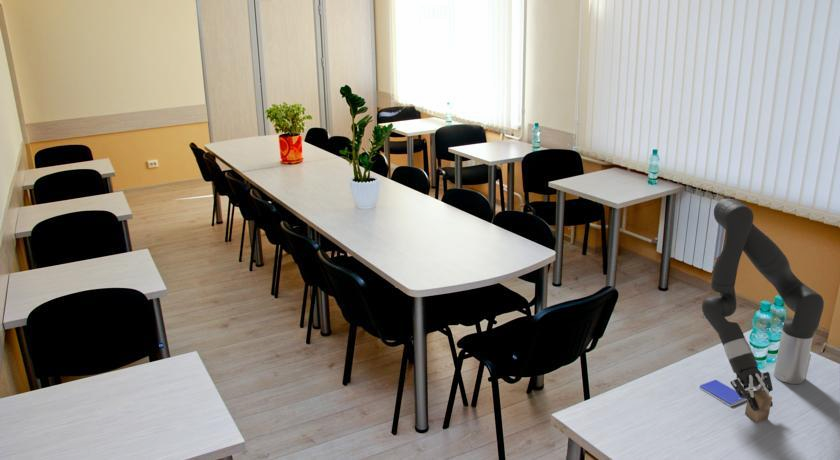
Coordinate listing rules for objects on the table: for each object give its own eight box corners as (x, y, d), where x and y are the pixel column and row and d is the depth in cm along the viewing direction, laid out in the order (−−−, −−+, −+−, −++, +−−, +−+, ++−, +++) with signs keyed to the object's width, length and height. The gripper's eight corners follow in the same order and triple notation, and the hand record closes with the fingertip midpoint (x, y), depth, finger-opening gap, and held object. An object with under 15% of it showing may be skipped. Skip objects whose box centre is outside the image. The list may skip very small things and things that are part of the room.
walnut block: (756, 410, 218) (760, 389, 215) (767, 419, 214) (772, 396, 211) (744, 413, 217) (749, 391, 214) (756, 422, 212) (760, 399, 210)
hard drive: (748, 397, 224) (716, 379, 234) (731, 403, 220) (699, 385, 230) (747, 401, 224) (715, 383, 234) (730, 408, 220) (698, 389, 231)
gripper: (729, 356, 213) (753, 410, 207) (765, 348, 218) (789, 401, 211) (714, 362, 220) (737, 416, 213) (749, 354, 224) (773, 406, 218)
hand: (763, 408), depth 212 cm, fingers closed on walnut block, 4 cm apart
